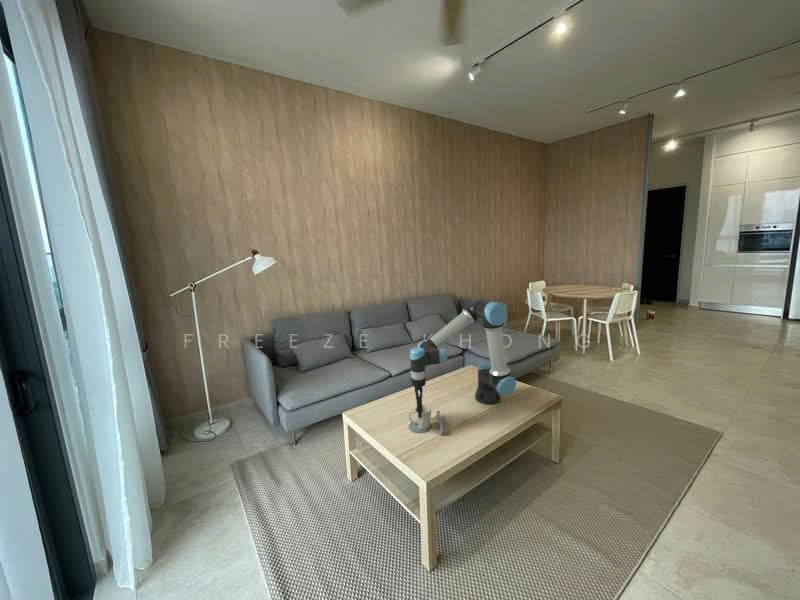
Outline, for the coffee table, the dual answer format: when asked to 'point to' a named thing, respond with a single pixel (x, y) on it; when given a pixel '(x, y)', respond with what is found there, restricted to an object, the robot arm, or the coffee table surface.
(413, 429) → the coaster
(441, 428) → the fence
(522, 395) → the coffee table surface
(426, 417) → the mug
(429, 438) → the coffee table surface
